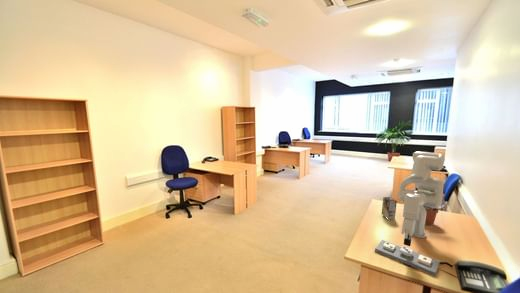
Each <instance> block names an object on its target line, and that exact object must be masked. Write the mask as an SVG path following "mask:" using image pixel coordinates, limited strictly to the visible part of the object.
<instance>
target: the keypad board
mask: <svg viewBox="0 0 520 293" xmlns="http://www.w3.org/2000/svg"><path fill="white" fill-rule="evenodd" d="M385 242H388V243H390V244H393V245H396V248H395V249H394V251H390V250H388V249H385V248H383V245H384V244H385ZM401 247H402V246H401V245H397V244H394V243H391V242H389V241H386V240H385V239H382V240H381V241H380V242H379V243H378V244H377V245H376V247H375V248H374V252H375V253H378V254H380V255H383V256H385V257H388V258H391V259H393V260H395V261H397V262H399V263H402V264H404V265H407V266H409V265H410V267H412V268H414V269H416V270H418V271H422V272H424V273H427V274H429V275H431V276H433V277H436V276H437V272H438V270H439V266H440V261H441V260H438V259H434V258H432V257H429V256H427V255H424V254H422V253H419V252H416V251H414V250H413V253H412V255H411V257H410V256H408V257H407V256H405V255H403V253H400V249H401ZM419 255H423V256H425V257H428V258H431V259H432V262H431V264H430V266H428V265H426V264H423V263H421V262H418V257H419Z"/></svg>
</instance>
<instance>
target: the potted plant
mask: <svg viewBox="0 0 520 293" xmlns="http://www.w3.org/2000/svg"><path fill="white" fill-rule="evenodd" d="M417 191H422V192H425V191H426V192H427V193H432V194H434V192H432V191H427V190H421V189H418V188H417ZM423 207H424V208H425V210H426V221H425V226H426V225H427V226H433V225H434V224H435V220H436V218H437V214H438V213H439V209H440V208H431V207H427V206H423Z"/></svg>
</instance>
